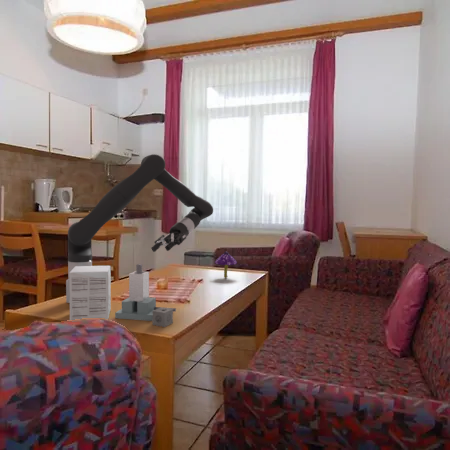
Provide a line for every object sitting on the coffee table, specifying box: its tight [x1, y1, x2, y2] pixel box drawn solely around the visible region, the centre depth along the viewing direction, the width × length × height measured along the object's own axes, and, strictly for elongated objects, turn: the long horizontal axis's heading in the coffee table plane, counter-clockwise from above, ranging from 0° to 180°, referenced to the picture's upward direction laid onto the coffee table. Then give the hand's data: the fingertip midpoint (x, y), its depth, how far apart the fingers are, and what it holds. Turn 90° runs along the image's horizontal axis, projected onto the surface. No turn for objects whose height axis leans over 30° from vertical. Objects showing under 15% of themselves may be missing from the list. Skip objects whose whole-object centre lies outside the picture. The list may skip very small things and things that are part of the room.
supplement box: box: [69, 265, 112, 321], centre depth 137 cm, size 13×13×18 cm
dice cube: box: [151, 307, 174, 328], centre depth 130 cm, size 5×5×5 cm
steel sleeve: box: [128, 270, 150, 302], centre depth 138 cm, size 5×5×10 cm
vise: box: [114, 263, 177, 322], centre depth 138 cm, size 21×10×19 cm, turn 80°
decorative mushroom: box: [214, 251, 238, 279], centre depth 211 cm, size 12×12×15 cm
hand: (159, 249), depth 154 cm, fingers open, 8 cm apart
